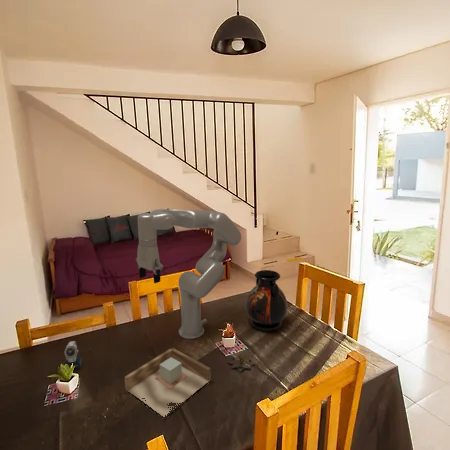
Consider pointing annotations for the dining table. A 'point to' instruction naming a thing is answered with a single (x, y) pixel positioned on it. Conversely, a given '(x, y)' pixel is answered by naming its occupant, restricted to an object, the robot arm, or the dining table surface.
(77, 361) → the watch
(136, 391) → the tray
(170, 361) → the cube
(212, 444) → the dining table surface
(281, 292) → the amphora vase
